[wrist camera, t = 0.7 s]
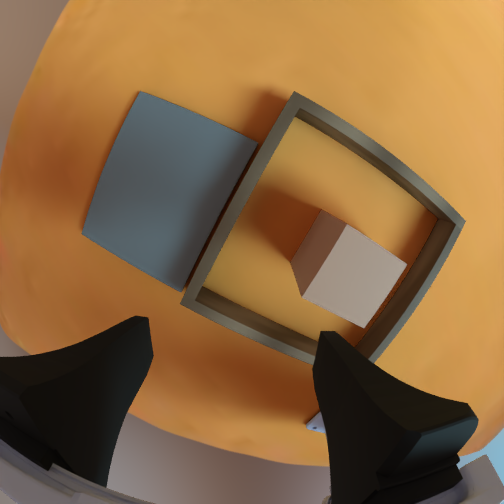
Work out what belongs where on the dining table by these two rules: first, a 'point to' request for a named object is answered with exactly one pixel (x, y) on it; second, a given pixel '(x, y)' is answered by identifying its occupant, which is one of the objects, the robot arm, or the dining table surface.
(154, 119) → the mat
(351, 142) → the grey square frame
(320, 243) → the block
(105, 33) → the dining table surface
